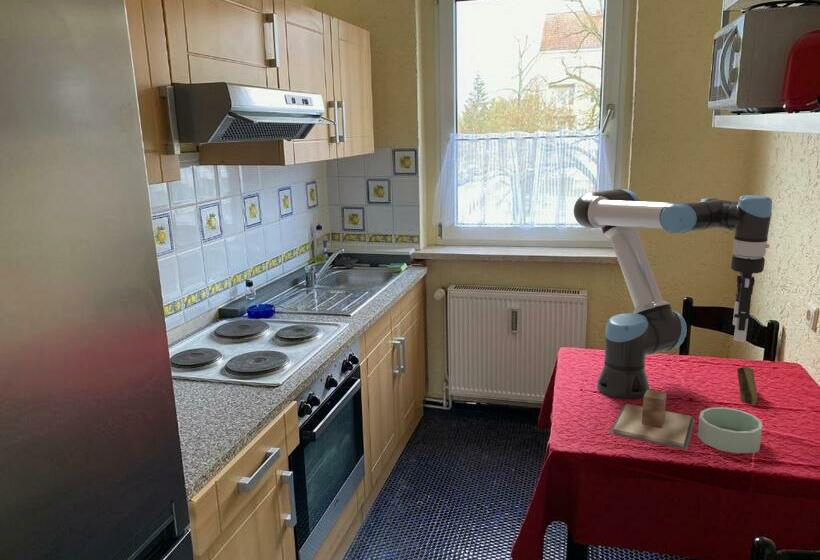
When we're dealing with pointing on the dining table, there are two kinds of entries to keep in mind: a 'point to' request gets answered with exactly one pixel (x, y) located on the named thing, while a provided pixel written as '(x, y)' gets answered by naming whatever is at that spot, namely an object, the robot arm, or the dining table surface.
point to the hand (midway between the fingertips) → (738, 333)
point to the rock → (747, 385)
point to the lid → (653, 421)
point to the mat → (655, 441)
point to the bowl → (730, 430)
